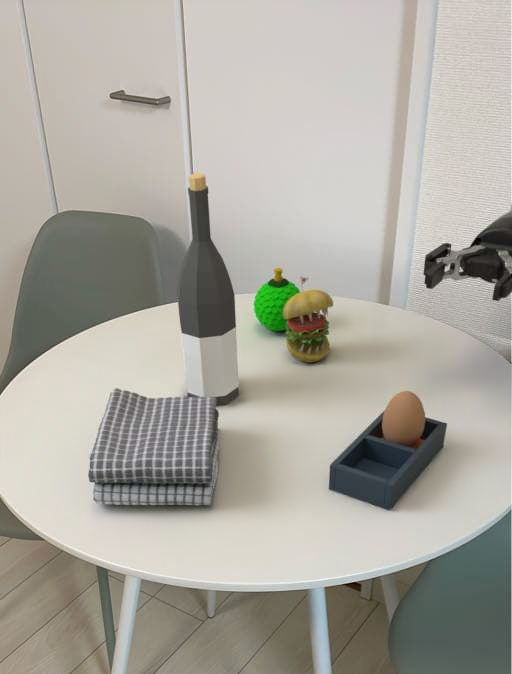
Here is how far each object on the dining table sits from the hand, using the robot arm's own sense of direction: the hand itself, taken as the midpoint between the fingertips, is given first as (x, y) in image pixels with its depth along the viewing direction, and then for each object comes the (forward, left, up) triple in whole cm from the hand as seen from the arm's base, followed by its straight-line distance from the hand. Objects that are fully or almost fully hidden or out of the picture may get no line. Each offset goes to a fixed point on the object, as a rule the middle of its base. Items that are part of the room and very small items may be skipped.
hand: (462, 287), depth 93 cm
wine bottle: (+30, +13, -17) cm, 37 cm away
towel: (+25, +32, -17) cm, 44 cm away
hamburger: (+24, -4, -17) cm, 30 cm away
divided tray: (0, +17, -17) cm, 24 cm away
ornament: (+33, -10, -17) cm, 39 cm away
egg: (0, +13, -16) cm, 21 cm away
